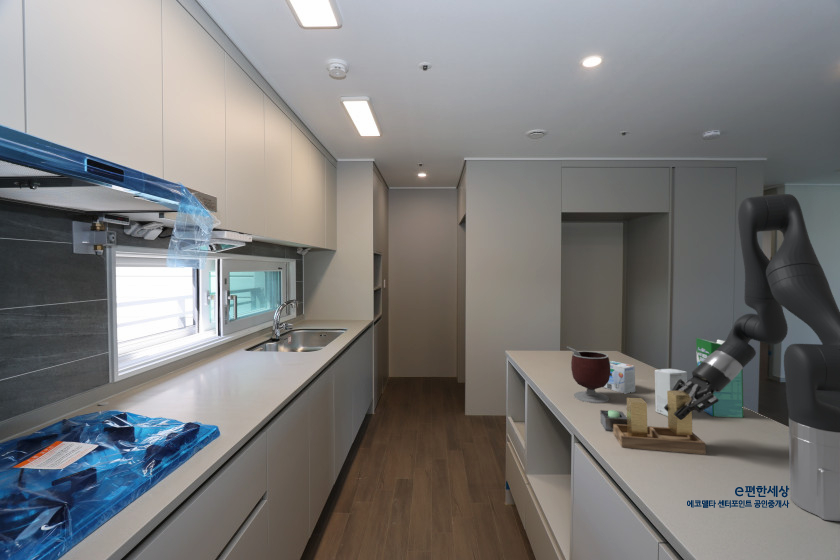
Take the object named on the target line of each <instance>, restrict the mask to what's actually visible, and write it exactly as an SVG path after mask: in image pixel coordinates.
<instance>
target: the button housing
mask: <svg viewBox="0 0 840 560" xmlns="http://www.w3.org/2000/svg"><path fill="white" fill-rule="evenodd" d="M608 411H609V410H602V409H600V410H599V413H600V424H601V425H602V427H603V429H604V431H606V432H608V431H609V432H613V424H623V425H627V415H625V413H624V412H623V411H619V410H617V411H618V412H619V413H620V417H608Z"/></svg>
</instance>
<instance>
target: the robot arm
mask: <svg viewBox="0 0 840 560" xmlns="http://www.w3.org/2000/svg"><path fill="white" fill-rule="evenodd" d="M737 218H738V219H737V221H738V231H739V239H740V247H741V254H742V259H743V266H744V298H743V299H744V300H743V301H744V304H745V305H746V306H747V307H748V308H751V309H753V310H754V311H755V312H756V313H747V314H743V315H741V316H740V317H738V318H737V319H736V321H735V322H734V324H733V325H732V328H731V329H730V331H729V334H728V335H727V338H726V339H725V340H724V341H725V342H724V343H723V344H722V345H721V346H720V347H719V348H718V349H717V350H716V351H714V352H713V353H712V354H710V355H709V356H708V357H707V358H706V359H705V360H704V361H703V362H702V363H701V364H700V365H699V366H698V367H697V366H696V368H694V369H693V370H692V371H691V375H692V377H691V378H690V379H687V382H685V381H682V380H681V379H679V380H678V381H677V383H676V385H675V386H674V388H673V389H672V391H684V392H686V393H688V394H689V395H690V396H689V397H688V398H689V399H688V400H687V401H686V402H685V405H682V406H681V407H680V408H679V409H678V410H677V411H676V412H675V413H674V415H675V416H676V417H677V418H678V419H680V420H682V419H683V418H685V417H686V416H687V415H688V414H689V413H690V412H691V411H692V413H693V412H697V413H702V412H703V411H704V410H705V409H706V408H708V407H710V406H712V405H713V404H715V403H717V402H718V401H719V400H718V399H717V398H716V397H715V396H714V395H713V394H714V391H715V392H720V391H721V390H722V389H723V388H724V387H725V386H726V385H728V384H729V383H730V382H731V381H732V380H733V379H734V378H735V377H736V376H737V375H738V374H739V372H740V371H741V369H742V368H745V367H746V366H747V365H748V364H749V363H750V362H751V361H752V360H753V359H754V357H756V353H757V352H756V349H755V348H754V347H753V346H752V345H751V344H750V341H752V340H754V341H756V342H759V343H764V344H765V345H772V346H773V345H778V344H780V343H782V342H783V341H784V340H785V339H786V337H787V335H788V329H789V327H788V322H787V320H786V316H785V313H784V310H783V307H784V309H786V310H787V311H788V312H790V313H791V314H793V315H794V316H795V317H797V318H798V319H800V320H801V321H802V322H804V324H806V325H807V326H809V328H810V329H811V330H812V331H813V332H814V334H816V336H817V338H818V339H819V340H820V342H821V344H820V343H819V344H818V343H817V344H815V343H814V344H813V343H792V344H790V345H788V346H787V347H786V349H785V351H784V354H783V369H784V380H785V391H786V394H785V395H786V396H785V397H786V403H787V410H788V447H789V448H788V450H789V451H788V453H789V454H788V455H789V457H788V458H789V493H790V494H789V495H790V500H791V502H792V503H794V504H795V505H796V506H797V507H798V508H799V507H800V508H801V509H803V510H804V511H807V512H809V513H810V514H813V515H815V516H818V517H820V519H822V520H825V521H833V522H840V407H837V406H835V405H832V404H829V403H827V402H824V401H821V400H820V399H819V398H818V394H817V391H822V392H823V391H824V392H834V393H835V392H836V393H840V309H839V307H838V304H837V303H836V299H835V297H834V295H833V292H832V290H831V286H830V283H829V281H828V278H827V276H826V274H825V272H824V269H823V267H822V265H821V262H820V261H819V259H818V256H817V254H816V252H815V250H814V247H813V245H812V242H811V240H810V237H809V232H808V229H807V226H806V221H805V218H804V214H803V211H802V207H801V204H800V203H799V200H798V199H797V197H796V196H794V194H790V193H789V194H788V193H779V194H769V195H760V196H751V197H746V198H744V199H743V200H742V201H741V203H740V205H739V208H738V217H737ZM772 231H780V232H781V233H782V236H783V241H782V242H781V245H780V246H779V248H778V250H777V251H776V252H775V253H774V254H773V256H772V258H771V260H770V259H769V258H768V256H767V255H766V254H765V253H764V251H763V250H762V248H761V246H760V244H759V241H758V239H759V238H758V232H772ZM701 404H703V405H702V406H701ZM699 406H700V407H699ZM664 409H665V410H666V411H667V412H668V404H667V405H666V406H665V407H664Z"/></svg>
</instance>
